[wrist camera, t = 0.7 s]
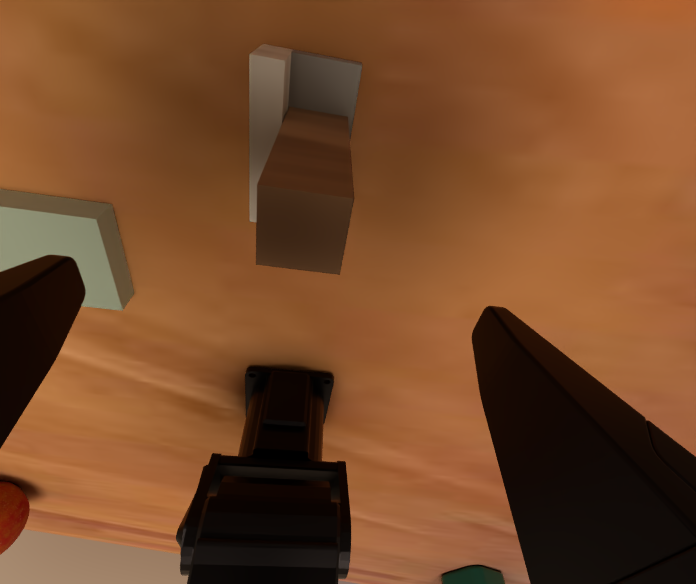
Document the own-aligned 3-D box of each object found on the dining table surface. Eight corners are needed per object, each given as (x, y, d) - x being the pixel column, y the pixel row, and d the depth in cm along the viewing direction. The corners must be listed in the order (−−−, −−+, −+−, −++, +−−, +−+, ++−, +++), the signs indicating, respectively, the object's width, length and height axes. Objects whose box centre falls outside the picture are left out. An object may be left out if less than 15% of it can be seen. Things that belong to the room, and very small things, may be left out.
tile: (137, 288, 23) (122, 310, 22) (32, 276, 22) (9, 298, 21) (115, 200, 19) (96, 219, 18) (-11, 183, 19) (-43, 200, 17)
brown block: (338, 204, 19) (338, 321, 12) (260, 192, 19) (216, 308, 12) (361, 62, 15) (379, 121, 8) (263, 43, 15) (199, 90, 8)
